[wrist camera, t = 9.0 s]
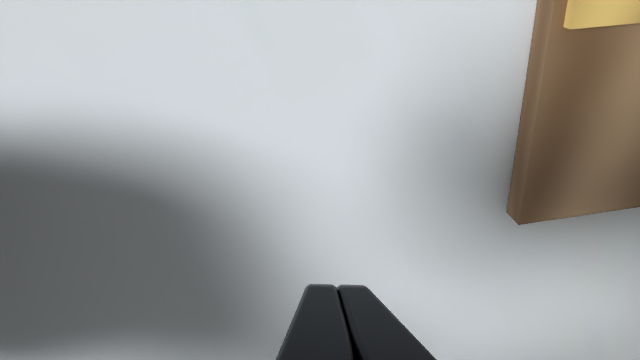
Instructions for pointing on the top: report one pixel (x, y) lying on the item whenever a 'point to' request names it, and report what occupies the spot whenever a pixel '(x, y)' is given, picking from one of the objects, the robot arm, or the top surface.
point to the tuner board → (579, 112)
